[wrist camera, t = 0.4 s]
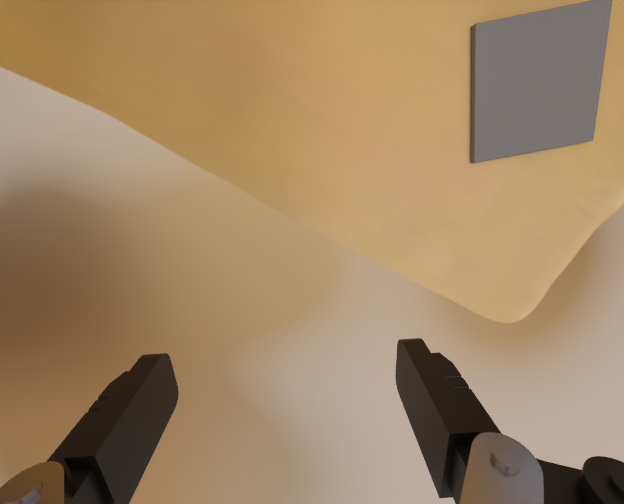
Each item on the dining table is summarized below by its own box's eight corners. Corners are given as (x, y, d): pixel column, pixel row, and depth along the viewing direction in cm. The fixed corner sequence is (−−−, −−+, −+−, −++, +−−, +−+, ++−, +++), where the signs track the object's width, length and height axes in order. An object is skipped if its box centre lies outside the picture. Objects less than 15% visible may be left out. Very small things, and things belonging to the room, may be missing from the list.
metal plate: (471, 26, 31) (475, 23, 30) (605, 0, 31) (612, -4, 30) (471, 162, 36) (474, 162, 35) (586, 140, 35) (593, 140, 35)
